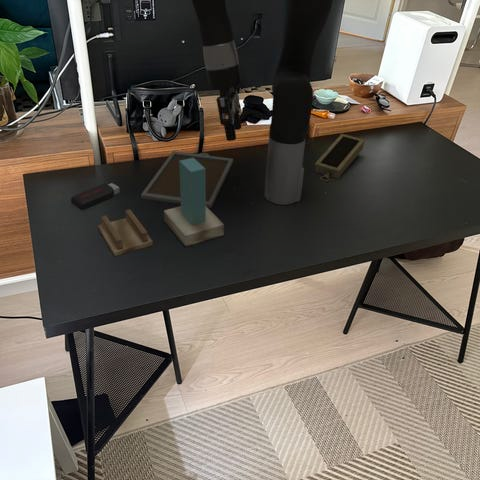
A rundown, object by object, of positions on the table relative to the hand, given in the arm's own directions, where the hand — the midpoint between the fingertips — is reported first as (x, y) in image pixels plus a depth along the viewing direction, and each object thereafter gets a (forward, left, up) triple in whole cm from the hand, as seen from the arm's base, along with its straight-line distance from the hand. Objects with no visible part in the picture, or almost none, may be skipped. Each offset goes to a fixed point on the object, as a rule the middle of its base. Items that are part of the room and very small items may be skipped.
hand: (234, 134), depth 116 cm
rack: (+26, +14, -19) cm, 36 cm away
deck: (+10, +11, -19) cm, 24 cm away
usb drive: (+35, -4, -20) cm, 41 cm away
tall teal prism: (+10, +11, -16) cm, 22 cm away
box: (-34, -20, -19) cm, 44 cm away
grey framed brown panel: (+10, -15, -20) cm, 27 cm away
